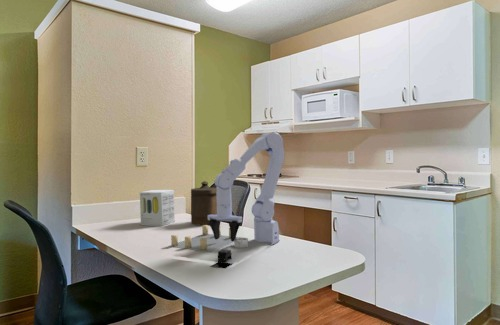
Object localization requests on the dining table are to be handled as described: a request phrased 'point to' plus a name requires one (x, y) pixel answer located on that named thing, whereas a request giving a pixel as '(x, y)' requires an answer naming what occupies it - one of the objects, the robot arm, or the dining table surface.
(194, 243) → the board
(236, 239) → the faceted star polyhedron
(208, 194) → the wooden container
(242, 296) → the dining table surface
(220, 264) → the black block
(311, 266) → the dining table surface
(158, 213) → the supplement box
